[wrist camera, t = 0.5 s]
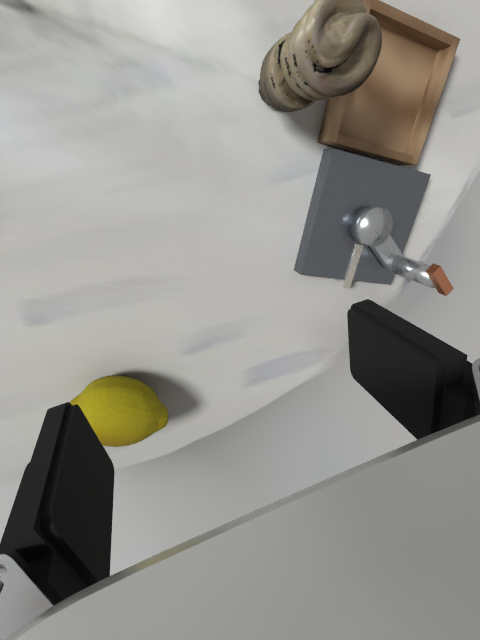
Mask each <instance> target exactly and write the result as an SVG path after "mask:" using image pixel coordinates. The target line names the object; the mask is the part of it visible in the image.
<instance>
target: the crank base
mask: <svg viewBox="0 0 480 640" xmlns="http://www.w3.org/2000/svg"><path fill="white" fill-rule="evenodd" d="M429 178H430V174H426V173H423V172H419V171H415V170H412V169H408V168H404V167H400V166H397V165H393V164H389V163H385V162H382V161H378V160H374V159H370V158H367V157H363V156H359V155H356V154H352V153H348V152H344V151H341V150H337V149H324V151H323V155H322V159H321V163H320V167H319V171H318V175H317V179H316V183H315V187H314V191H313V195H312V199H311V203H310V207H309V211H308V215H307V219H306V224H305V228H304V232H303V236H302V240H301V244H300V248H299V252H298V256H297V260H296V264H295V268H294V270H295V271H296V272H298V273H299V274H301V275H309V276H319V277H328V278H337V279H345V281H344V285H343V287H346V288H350V287H351V283H352V280H355V281H364V282H373V283H382V284H391V282H392V279H393V277H394V274H395V273H393V272H392V271H389V270H386V269H385V267H384V266H383V265H382V263H381V262H380V260H379V259H378V258H377V256H376V255H375V253H374V252H373V250H372V249H371V248H370V246H367V245H364V244H361V243H359V242H357V241H356V240H355V239H354V238H353V236H352V233H351V225H352V221H353V219H354V217H355V215H356V214H357V213H358V212H359V211H360V210H361V209H363V208H365V207H368V206H374V207H380V208H385V209H387V210H388V211H389V212H390V213H391V215H392V218H393V227H392V230H391V233H390V236H391V237H392V239H393V240H394V242H395V243H396V245H397V246H398V248H399V250H400V251H401V253H402V252H403V249H404V247H405V244H406V241H407V238H408V236H409V233H410V230H411V227H412V225H413V222H414V219H415V216H416V214H417V211H418V208H419V205H420V203H421V200H422V197H423V194H424V192H425V189H426V186H427V183H428V181H429Z"/></svg>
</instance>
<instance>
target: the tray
mask: <svg viewBox="0 0 480 640" xmlns="http://www.w3.org/2000/svg"><path fill="white" fill-rule="evenodd" d="M361 1H362V3H363V5H364V6H365V8H366V11H367V13H368V14H371V15H372V16H374V17H375V18H376V19H377V21H378V23H379V25H380V28H381V32H382V47H381V51H380V55H379V57H378V60H377V63H376V65H375V67H374V69H373V71H372V73H371V74H370V76H369V77H368V78H367V79H366V81H365V82H364V83H363V84H362V85H361V86H360V87H359V88H357V89H356V90H354V91H352V92H350V93H348V94H346V95H343V96H337V97H334V98H329V99H328V100H327V105H326V109H325V113H324V117H323V121H322V125H321V130H320V134H319V138H318V143H322V144H325V145H329V146H333V147H336V148H340V149H344V150H348V151H351V152H355V153H359V154H362V155H366V156H370V157H373V158H377V159H381V160H385V161H388V162H392V163H396V164H399V165H417V162H418V160H419V157H420V154H421V151H422V148H423V145H424V142H425V139H426V136H427V134H428V131H429V128H430V125H431V122H432V119H433V116H434V113H435V110H436V108H437V105H438V102H439V99H440V96H441V93H442V90H443V87H444V85H445V82H446V79H447V76H448V73H449V70H450V67H451V64H452V61H453V59H454V56H455V53H456V50H457V47H458V44H459V41H460V39H459V38H457V37H455V36H453V35H451V34H449V33H447V32H445V31H442V30H440V29H438V28H436V27H434V26H432V25H430V24H428V23H426V22H424V21H421V20H419V19H417V18H415V17H413V16H411V15H409V14H407V13H405V12H402V11H400V10H398V9H396V8H394V7H392V6H390V5H388V4H386V3H383V2H381V1H379V0H361Z"/></svg>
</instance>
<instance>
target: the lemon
mask: <svg viewBox="0 0 480 640" xmlns="http://www.w3.org/2000/svg"><path fill="white" fill-rule="evenodd" d="M70 403H71V404H72V405H76V404H77V405H79V407H80V408H81V410H82V411H83V413H84V415H85V417H86V418H87V420H88V422H89V423H90V425H91V427H92V429H93V430H94V432H95V434H96V435H97V437H98V439H99V440H100V442H101V444H102V445H103V446H111V447H119V446H127V445H131V444H135V443H138V442H140V441H142V440H144V439H145V438H147V437H149V436H150V435H152V434H153V433H155V432H157V431H159V430H160V429H162V428H164V427H165V426H166V425H167V422H168V411H167V408H166V407H165V406H164V405H163V404H162V403H161V402H160V400H159V399H158V397H157V395H156V393H155V392H154V391H153V390H152V389H151V388H150V387H149V386H147V385H146V384H144V383H143V382H141V381H139V380H136V379H133V378H130V377H125V376H106V377H102V378H99V379H97V380H94V381H93V382H91V383H90V384H89V385H88V386H87V387H86V388H85V389H84V390H83V391H82V393H81V394H80V395H78V396H77V397H76V398H74V399H73V400H71V402H70Z"/></svg>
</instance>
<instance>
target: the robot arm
mask: <svg viewBox="0 0 480 640" xmlns="http://www.w3.org/2000/svg"><path fill="white" fill-rule="evenodd" d="M347 315H348V334H349V353H350V370H351V374H352V376H353V378H354V379H355V380H356V381H357V382H358V383H359V384H360V385H361V386H362V387H363V388H364V389H365V390H366V391H367V392H368V393H369V394H371V395H372V396H373V397H374V398H375V399H376V400H377V401H378V402H379V403H380V404H381V405H382V406H383V407H384V408H385V409H386V410H387V411H388V412H389V413H390V414H391V415H392V416H394V418H396V419H397V420H398V421H399V422H400V423H401V424H402V425H403V426H404V427H405V428H406V429H407V430H408V431H409V432H410V433H411V434H412V435H413V436H414V437H415V438H416V439H417V440H416V441H414V442H412V443H409V444H407V445H405V446H402V447H400V448H398V449H396V450H393V451H391V452H388V453H386V454H384V455H381V456H379V457H377V458H375V459H372V460H370V461H368V462H365V463H363V464H361V465H358V466H356V467H354V468H351V469H349V470H347V471H344V472H342V473H340V474H338V475H335V476H333V477H331V478H329V479H326V480H324V481H322V482H319V483H317V484H315V485H313V486H311V487H308V488H305V489H303V490H301V491H299V492H296V493H294V494H292V495H290V496H287V497H285V498H283V499H280V500H278V501H276V502H274V503H271V504H269V505H267V506H265V507H262V508H260V509H258V510H255V511H253V512H251V513H249V514H247V515H244V516H242V517H240V518H237V519H235V520H233V521H231V522H228V523H226V524H224V525H222V526H219V527H217V528H215V529H213V530H210V531H208V532H206V533H204V534H202V535H199V536H197V537H195V538H192V539H190V540H188V541H186V542H183V543H181V544H179V545H177V546H175V547H172V548H170V549H168V550H166V551H163V552H161V553H159V554H157V555H155V556H152V557H151V558H148V559H146V560H144V561H142V562H140V563H137V564H135V565H133V566H131V567H129V568H127V569H124V570H122V571H120V572H118V573H116V574H114V575H111V576H110V554H111V533H112V510H113V490H114V489H113V488H114V467H113V463H112V461H111V459H110V458H109V456H108V454H107V452H106V451H105V449H104V447H103V446H102V444H101V442H100V440H99V439H98V437H97V435H96V434H95V432H94V430H93V429H92V427H91V425H90V423H89V422H88V420H87V418H86V417H85V415H84V413H83V411H82V410H81V408H80V407H79V405H77V404H76V405H72V404H71V403H69V402H67V403H64V404H61V405H58V406H55V407H53V408H50V409H48V411H47V413H46V416H45V419H44V422H43V425H42V428H41V431H40V434H39V437H38V440H37V443H36V446H35V449H34V452H33V455H32V458H31V462H30V463H29V464H28V465H27V467H26V469H25V471H24V474H23V477H22V480H21V483H20V486H19V489H18V492H17V495H16V498H15V501H14V504H13V507H12V510H11V513H10V516H9V519H8V522H7V525H6V528H5V531H4V534H3V537H2V540H1V543H0V640H480V359H478V360H476V361H475V362H474V363H473V364H472V363H470V362H468V361H467V355H466V354H464V353H462V352H461V351H459V350H457V349H455V348H454V347H452V346H450V345H448V344H447V343H445V342H443V341H441V340H440V339H438V338H436V337H434V336H433V335H431V334H429V333H427V332H426V331H424V330H422V329H420V328H418V327H416V326H415V325H413V324H411V323H410V322H408V321H406V320H404V319H403V318H401V317H399V316H397V315H396V314H393V313H392V312H390V311H389V310H387V309H385V308H383V307H382V306H380V305H378V304H376V303H375V302H373V301H371V300H369V299H367V300H364V301H361V302H358V303H355V304H353V305H352V306H351V309H350V310H348V314H347Z"/></svg>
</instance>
